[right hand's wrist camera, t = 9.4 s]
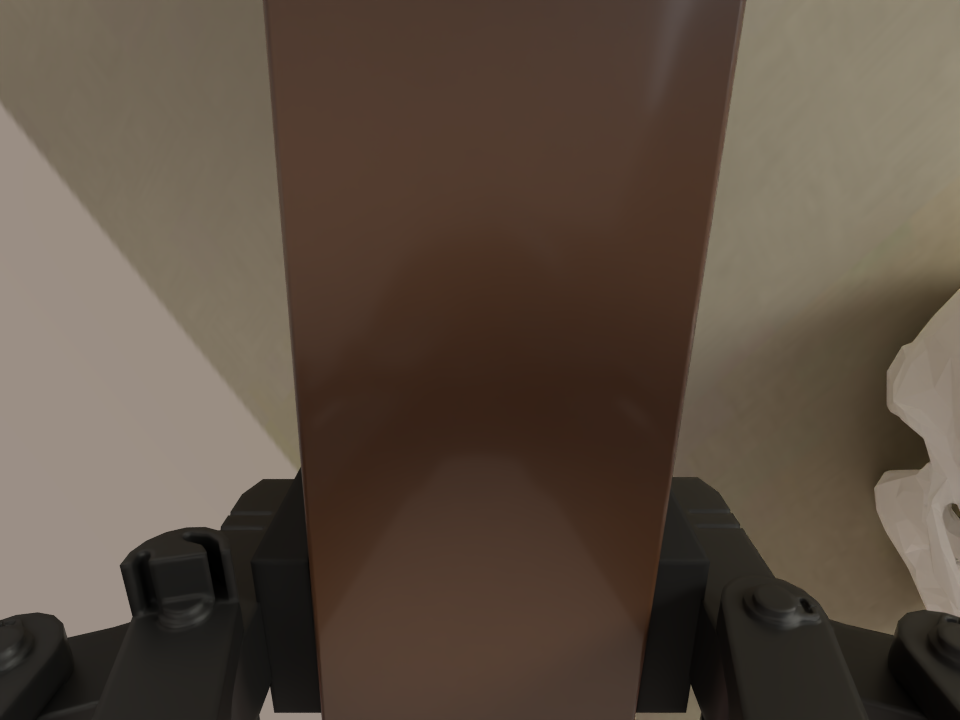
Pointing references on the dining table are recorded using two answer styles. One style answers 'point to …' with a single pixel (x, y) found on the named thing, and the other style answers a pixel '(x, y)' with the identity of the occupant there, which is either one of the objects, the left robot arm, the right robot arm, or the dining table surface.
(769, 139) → the dining table surface
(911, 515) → the skull
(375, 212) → the walnut block
